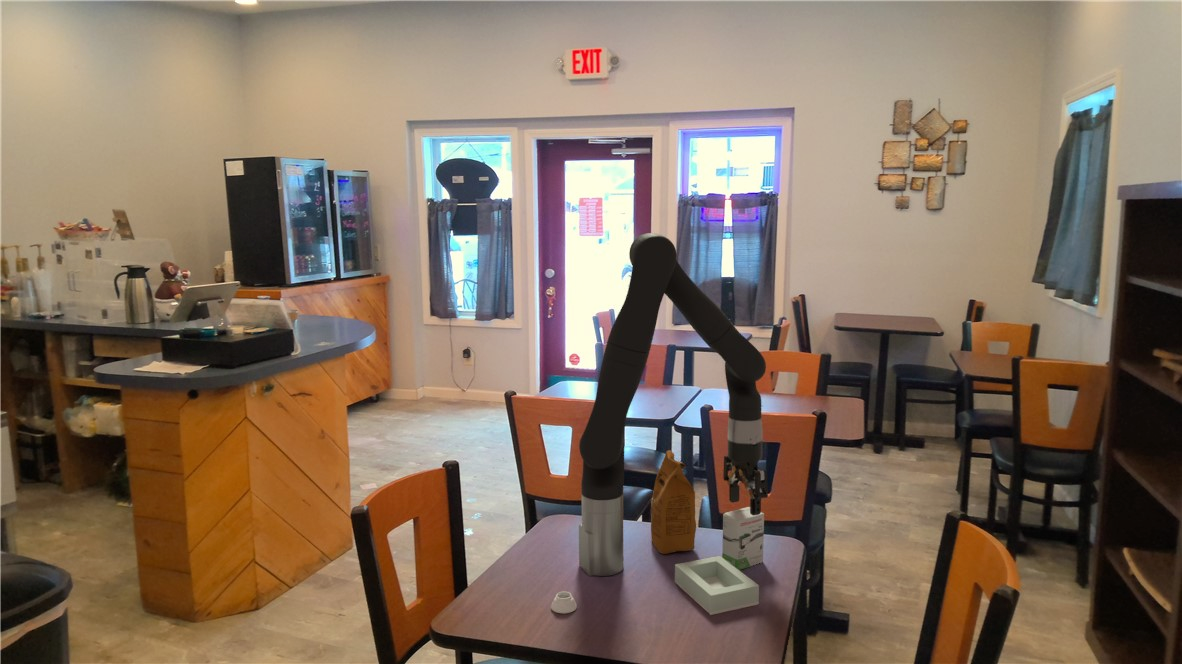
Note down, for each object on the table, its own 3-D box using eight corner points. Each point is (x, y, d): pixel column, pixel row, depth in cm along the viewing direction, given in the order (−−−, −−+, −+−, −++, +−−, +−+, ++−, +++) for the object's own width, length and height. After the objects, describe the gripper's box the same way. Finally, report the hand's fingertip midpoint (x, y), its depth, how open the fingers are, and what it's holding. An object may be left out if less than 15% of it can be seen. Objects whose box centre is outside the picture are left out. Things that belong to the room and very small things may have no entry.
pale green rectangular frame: (710, 614, 148) (711, 595, 148) (674, 582, 162) (674, 564, 162) (758, 604, 152) (759, 585, 152) (719, 573, 166) (719, 555, 166)
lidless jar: (571, 601, 155) (548, 605, 153) (571, 587, 154) (548, 591, 153) (580, 612, 150) (556, 617, 149) (579, 598, 150) (555, 603, 148)
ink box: (736, 572, 167) (737, 520, 165) (720, 563, 171) (721, 513, 169) (764, 562, 172) (765, 512, 170) (748, 554, 176) (749, 505, 174)
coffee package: (686, 533, 188) (687, 447, 185) (699, 554, 176) (700, 462, 173) (646, 535, 187) (647, 448, 184) (656, 556, 175) (657, 464, 172)
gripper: (713, 431, 172) (713, 500, 175) (748, 447, 159) (747, 521, 161) (742, 427, 175) (741, 495, 177) (778, 443, 162) (777, 516, 164)
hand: (744, 507), depth 169 cm, fingers open, 8 cm apart
